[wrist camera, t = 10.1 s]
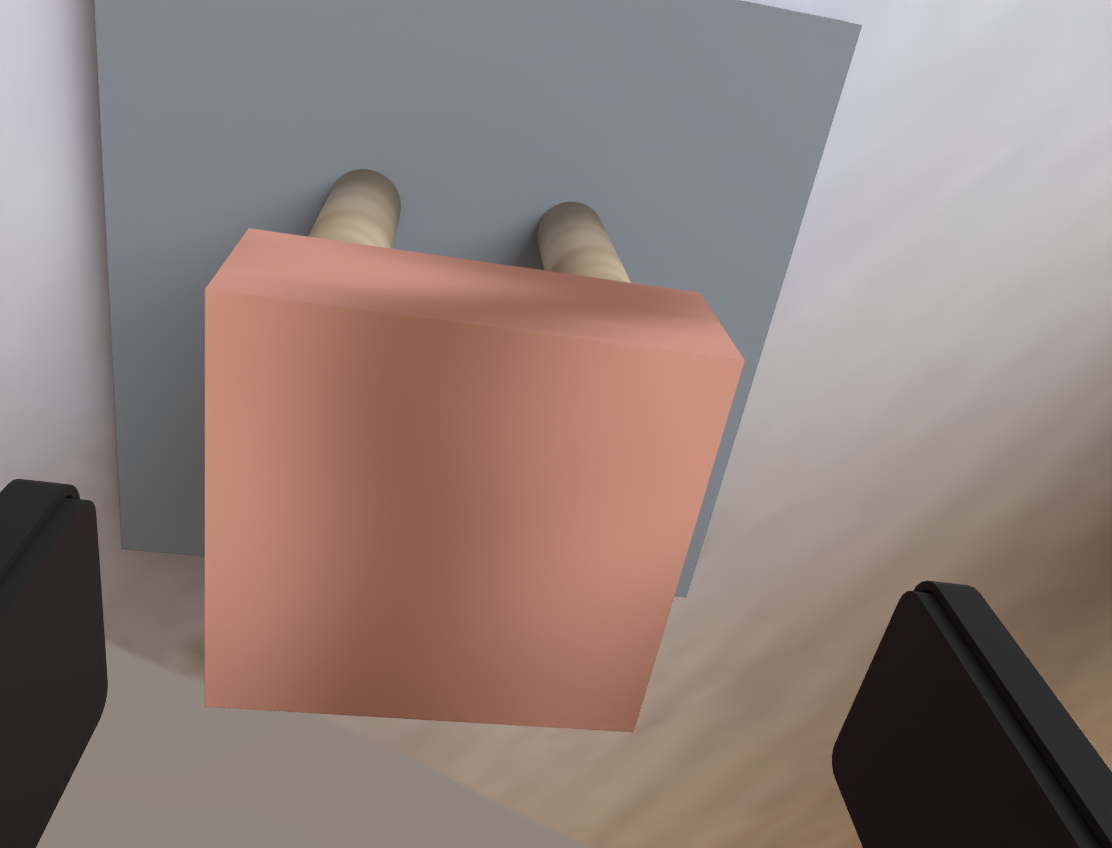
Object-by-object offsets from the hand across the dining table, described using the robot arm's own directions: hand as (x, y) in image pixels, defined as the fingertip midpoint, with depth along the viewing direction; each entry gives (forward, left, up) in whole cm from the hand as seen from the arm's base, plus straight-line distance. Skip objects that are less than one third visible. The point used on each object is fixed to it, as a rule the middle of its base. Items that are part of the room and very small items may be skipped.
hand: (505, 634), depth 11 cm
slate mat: (+1, 0, -11) cm, 11 cm away
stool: (+1, 0, -10) cm, 10 cm away
